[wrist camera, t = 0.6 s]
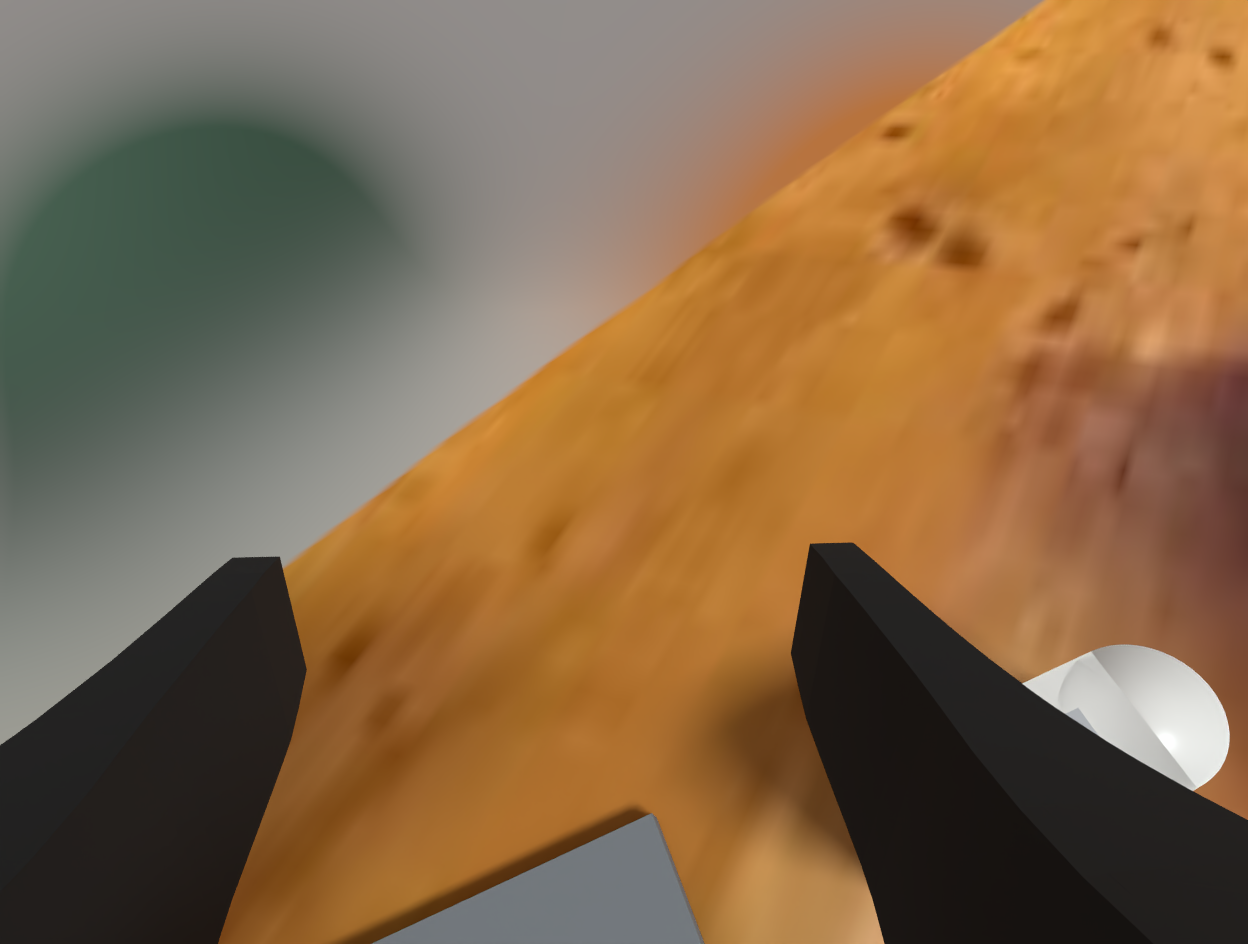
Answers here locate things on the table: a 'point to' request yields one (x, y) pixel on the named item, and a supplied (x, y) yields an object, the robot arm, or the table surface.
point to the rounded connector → (1143, 709)
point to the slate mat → (576, 900)
